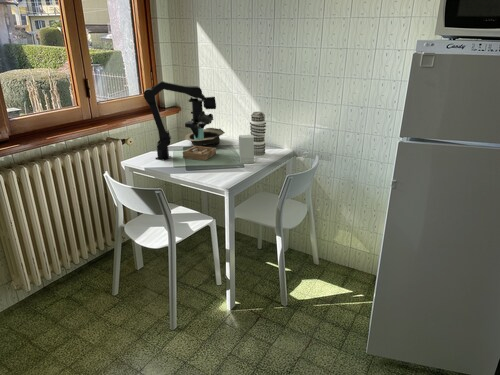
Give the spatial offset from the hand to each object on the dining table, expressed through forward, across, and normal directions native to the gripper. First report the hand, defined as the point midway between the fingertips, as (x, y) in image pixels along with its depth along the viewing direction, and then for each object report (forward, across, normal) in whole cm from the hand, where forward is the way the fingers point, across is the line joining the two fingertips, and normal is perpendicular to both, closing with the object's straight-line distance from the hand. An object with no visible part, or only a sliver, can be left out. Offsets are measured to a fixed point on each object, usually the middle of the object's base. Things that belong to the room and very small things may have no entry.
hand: (198, 137), depth 220 cm
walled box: (+11, 0, 0) cm, 11 cm away
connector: (+1, 0, 0) cm, 1 cm away
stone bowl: (+12, +22, +10) cm, 27 cm away
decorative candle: (+11, +14, -31) cm, 36 cm away
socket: (+11, 0, 0) cm, 11 cm away
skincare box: (+11, 0, -30) cm, 32 cm away
